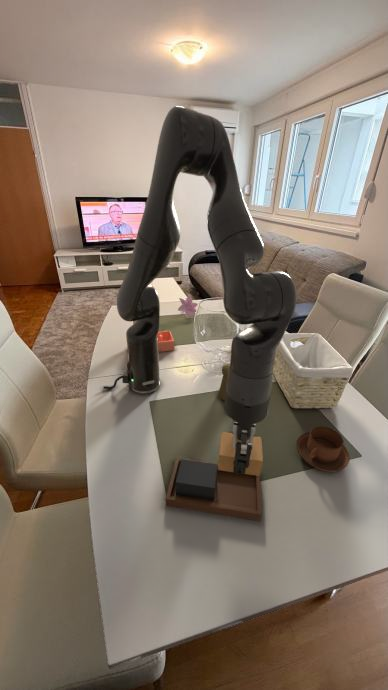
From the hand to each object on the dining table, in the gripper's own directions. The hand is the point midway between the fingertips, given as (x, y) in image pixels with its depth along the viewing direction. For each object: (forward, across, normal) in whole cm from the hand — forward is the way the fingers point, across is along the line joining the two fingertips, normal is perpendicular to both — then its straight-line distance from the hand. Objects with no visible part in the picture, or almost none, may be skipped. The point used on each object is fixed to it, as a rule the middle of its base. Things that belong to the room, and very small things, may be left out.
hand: (239, 458), depth 59 cm
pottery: (+11, -60, -36) cm, 71 cm away
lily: (+10, -96, -27) cm, 100 cm away
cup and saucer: (+11, -14, +21) cm, 27 cm away
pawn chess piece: (+11, -34, -3) cm, 36 cm away
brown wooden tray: (+11, 0, -4) cm, 11 cm away
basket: (+11, -42, +20) cm, 48 cm away
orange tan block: (+1, 0, 0) cm, 1 cm away
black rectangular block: (+10, 0, -8) cm, 13 cm away
